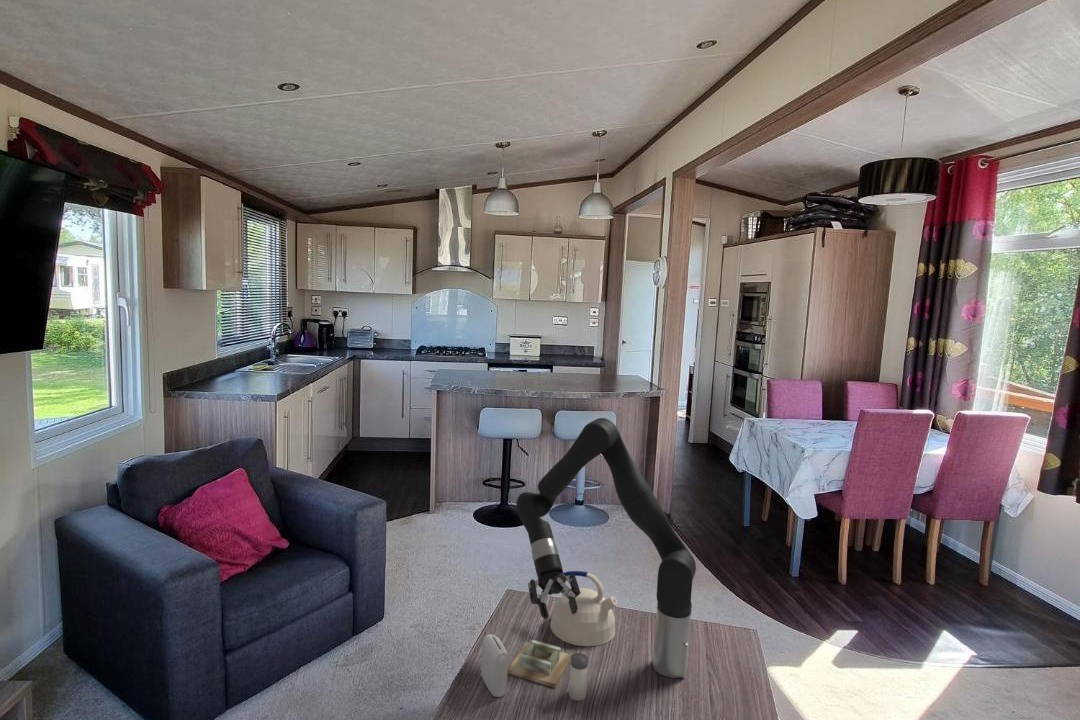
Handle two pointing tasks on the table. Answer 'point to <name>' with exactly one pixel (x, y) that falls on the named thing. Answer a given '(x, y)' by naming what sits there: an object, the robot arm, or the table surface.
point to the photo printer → (494, 665)
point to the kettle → (585, 616)
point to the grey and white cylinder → (578, 676)
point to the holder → (540, 663)
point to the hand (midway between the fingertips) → (560, 615)
